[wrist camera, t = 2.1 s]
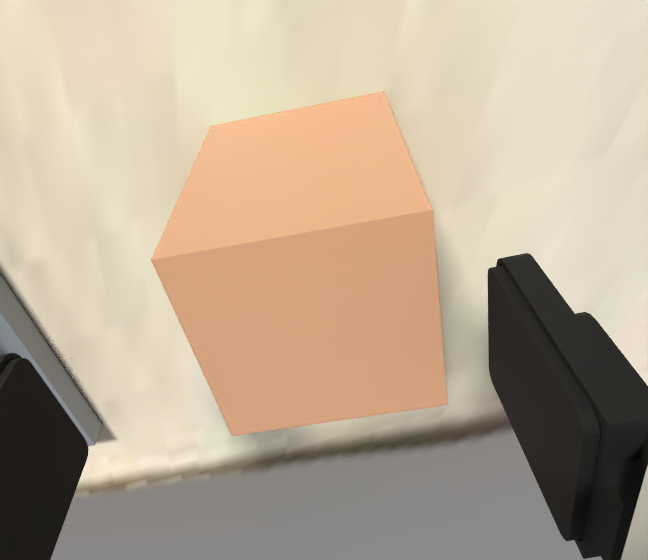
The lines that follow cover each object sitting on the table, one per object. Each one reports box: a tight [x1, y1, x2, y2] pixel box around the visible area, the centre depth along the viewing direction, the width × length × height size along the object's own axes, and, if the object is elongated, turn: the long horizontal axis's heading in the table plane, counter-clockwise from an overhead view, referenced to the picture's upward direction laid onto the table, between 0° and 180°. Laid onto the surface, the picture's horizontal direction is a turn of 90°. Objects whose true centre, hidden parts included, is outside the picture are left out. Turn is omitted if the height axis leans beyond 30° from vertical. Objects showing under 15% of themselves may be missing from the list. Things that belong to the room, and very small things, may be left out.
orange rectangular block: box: [151, 91, 448, 436], centre depth 13 cm, size 5×5×7 cm
